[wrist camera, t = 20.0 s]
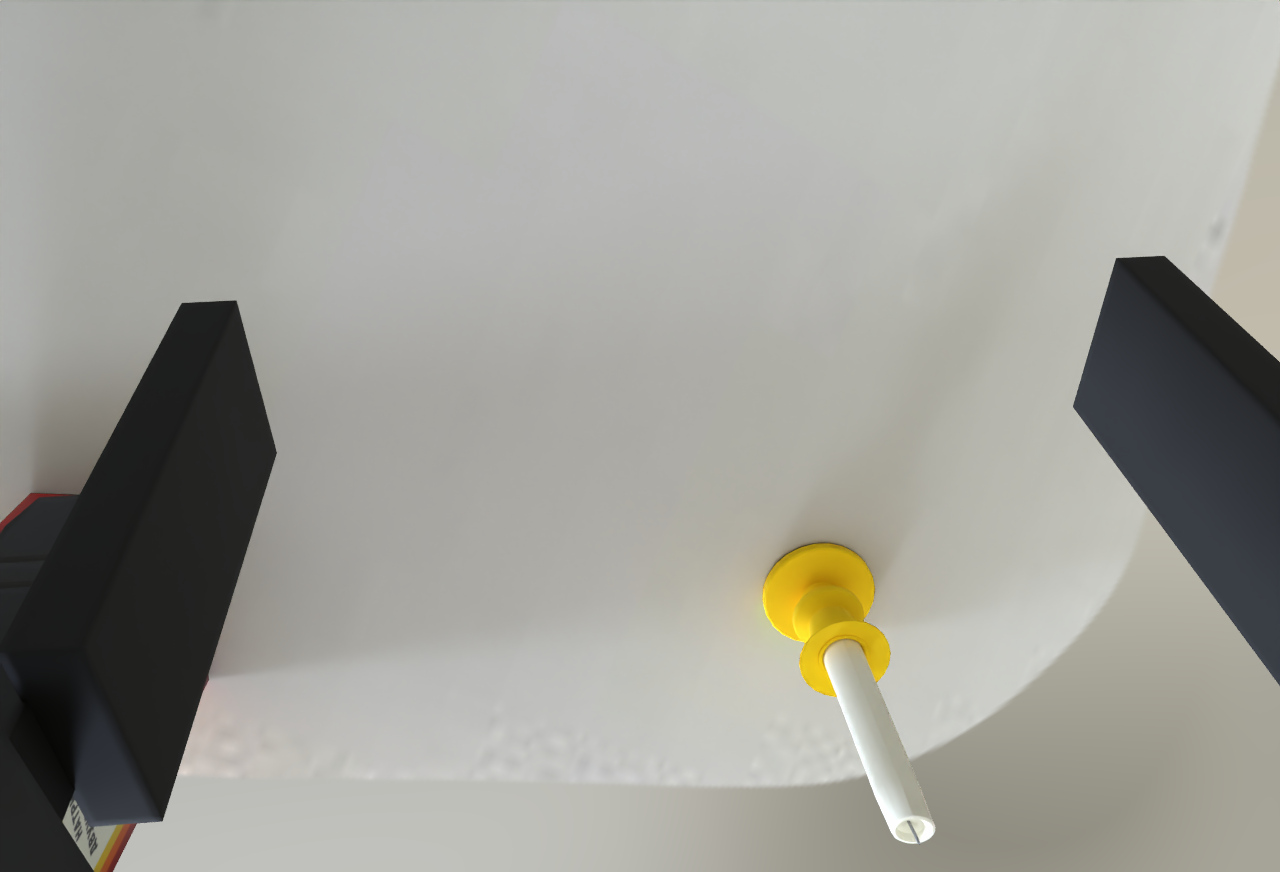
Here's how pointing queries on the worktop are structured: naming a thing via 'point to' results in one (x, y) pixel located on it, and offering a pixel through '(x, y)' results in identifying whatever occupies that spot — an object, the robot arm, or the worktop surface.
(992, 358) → the worktop surface
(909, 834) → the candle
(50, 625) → the robot arm
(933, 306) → the worktop surface
